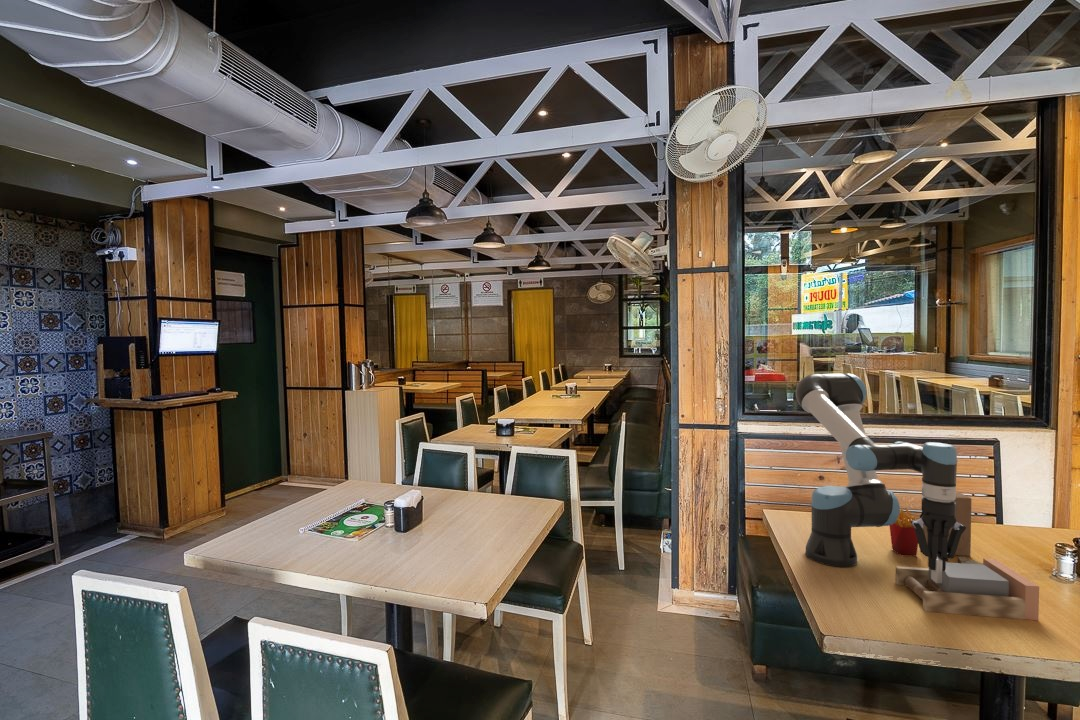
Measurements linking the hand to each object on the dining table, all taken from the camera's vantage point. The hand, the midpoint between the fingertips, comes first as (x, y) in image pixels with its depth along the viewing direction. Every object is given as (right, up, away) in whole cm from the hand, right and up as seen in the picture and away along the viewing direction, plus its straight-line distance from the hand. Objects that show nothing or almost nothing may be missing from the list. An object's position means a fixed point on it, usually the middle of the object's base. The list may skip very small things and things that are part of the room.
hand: (936, 581), depth 142 cm
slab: (+8, -2, -1) cm, 8 cm away
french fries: (+12, -4, +32) cm, 34 cm away
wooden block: (+29, -4, +33) cm, 44 cm away
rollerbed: (+5, -5, 0) cm, 7 cm away
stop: (+18, -5, -3) cm, 19 cm away
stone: (+25, -5, +14) cm, 29 cm away
